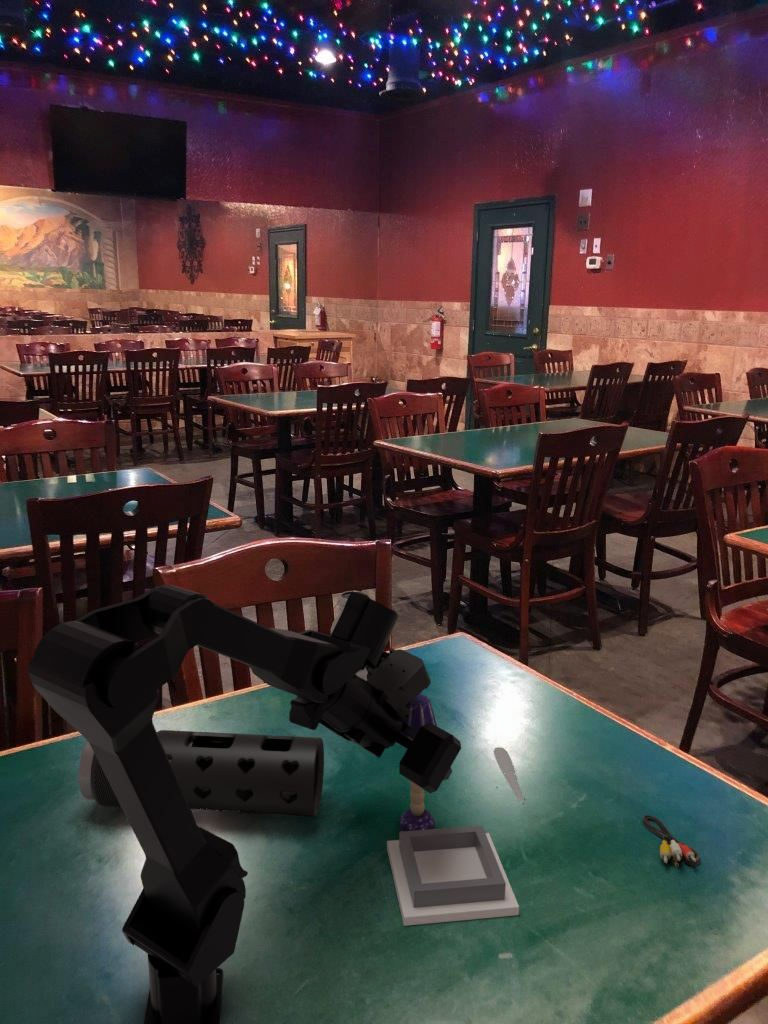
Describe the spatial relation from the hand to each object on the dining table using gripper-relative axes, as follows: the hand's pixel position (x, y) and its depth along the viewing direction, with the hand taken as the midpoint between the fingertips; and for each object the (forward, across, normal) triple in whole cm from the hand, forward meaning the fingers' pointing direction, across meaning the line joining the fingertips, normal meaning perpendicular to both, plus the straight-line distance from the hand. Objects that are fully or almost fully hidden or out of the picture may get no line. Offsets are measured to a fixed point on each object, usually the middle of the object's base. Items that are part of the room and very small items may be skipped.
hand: (420, 757), depth 98 cm
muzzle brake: (-6, +19, +19) cm, 28 cm away
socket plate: (+3, -10, +9) cm, 14 cm away
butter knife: (+15, -6, -2) cm, 17 cm away
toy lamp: (+6, 0, +7) cm, 9 cm away
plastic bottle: (+13, +24, 0) cm, 27 cm away
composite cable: (+20, -22, -7) cm, 31 cm away
